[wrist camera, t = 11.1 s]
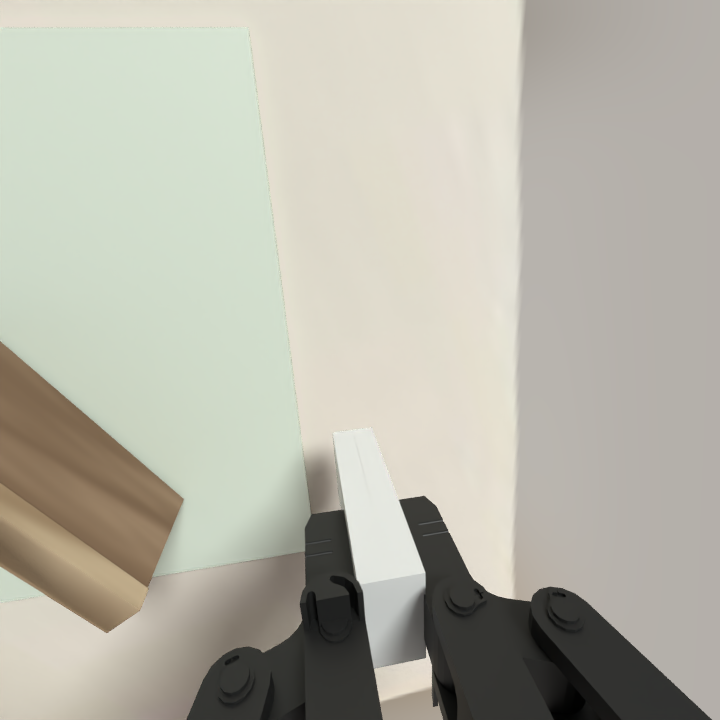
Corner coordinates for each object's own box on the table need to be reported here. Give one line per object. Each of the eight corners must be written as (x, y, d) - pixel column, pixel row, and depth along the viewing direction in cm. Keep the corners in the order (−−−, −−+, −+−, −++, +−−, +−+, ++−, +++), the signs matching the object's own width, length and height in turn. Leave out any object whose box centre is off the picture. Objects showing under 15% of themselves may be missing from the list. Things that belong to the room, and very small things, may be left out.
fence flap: (-12, 327, 14) (-191, 386, 9) (185, 497, 18) (139, 610, 12) (-41, 349, 14) (-233, 421, 9) (161, 514, 18) (106, 633, 13)
